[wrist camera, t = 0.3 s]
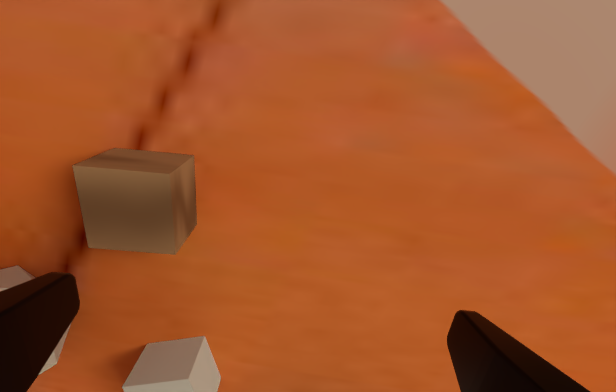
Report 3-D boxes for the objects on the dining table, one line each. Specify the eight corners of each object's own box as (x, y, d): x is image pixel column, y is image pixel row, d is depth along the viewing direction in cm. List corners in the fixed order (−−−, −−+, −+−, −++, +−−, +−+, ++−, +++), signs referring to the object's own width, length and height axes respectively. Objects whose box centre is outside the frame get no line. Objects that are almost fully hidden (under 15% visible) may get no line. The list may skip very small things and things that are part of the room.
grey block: (221, 376, 28) (208, 423, 24) (167, 382, 28) (146, 430, 24) (205, 334, 26) (188, 378, 22) (147, 342, 26) (121, 387, 23)
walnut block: (197, 223, 22) (175, 254, 18) (125, 217, 22) (88, 247, 18) (194, 154, 20) (169, 174, 16) (115, 147, 20) (72, 165, 16)
